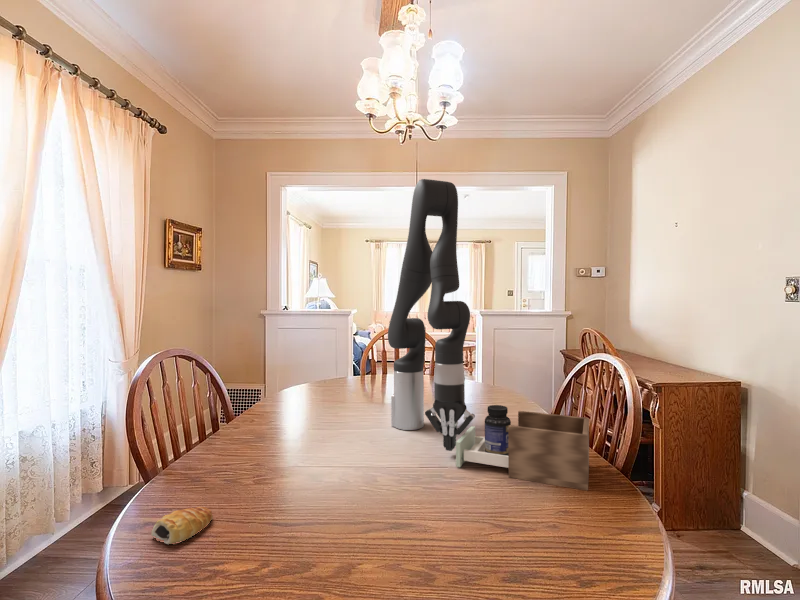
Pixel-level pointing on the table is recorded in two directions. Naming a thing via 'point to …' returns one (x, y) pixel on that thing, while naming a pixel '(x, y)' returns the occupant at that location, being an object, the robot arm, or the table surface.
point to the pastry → (181, 524)
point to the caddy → (550, 449)
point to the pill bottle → (497, 430)
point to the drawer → (476, 451)
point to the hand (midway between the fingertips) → (449, 449)
